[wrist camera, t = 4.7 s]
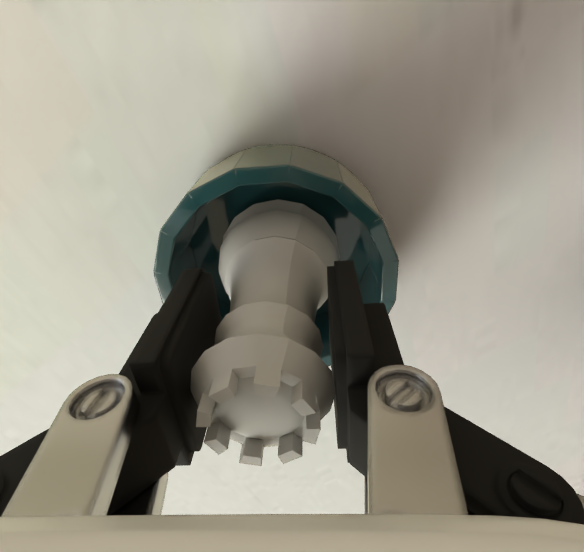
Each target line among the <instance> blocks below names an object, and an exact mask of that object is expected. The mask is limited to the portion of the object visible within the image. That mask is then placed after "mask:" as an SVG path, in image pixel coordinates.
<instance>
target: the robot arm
mask: <svg viewBox="0 0 584 552" xmlns="http://www.w3.org/2000/svg"><path fill="white" fill-rule="evenodd" d="M327 284H328V313H329V340H330V356H331V368H332V375H333V380H334V384H335V390H336V394H335V397H334V406H335V418H336V431H337V443H338V449H342V448H346V450H347V460H348V463H350V464H351V465H352V466H353V467H355V468H356V469H357V470H358V471H359V472H360V473H362V474H363V475H364V476H365V478H364V484H365V514H243V515H161V512H162V507H163V502H164V497H165V492H166V487H167V482H168V472H169V471H170V470H171V469H173V468H174V467H175V465H190V464H191V461H192V457H193V454H194V451H200V449H201V447H202V444H203V440H204V436H205V432H206V429H207V427H196V419H197V410H198V405H197V403H196V401H195V399H194V397H193V395H192V392H191V388H190V386H191V370H192V368H193V367H194V365H195V364H196V362H197V361H198V360H199V358H200V357H201V355H202V354H203V352H204V351H205V350H207V349H209V348H211V347H213V346H214V344H215V334H216V329H217V327H218V326H219V324H220V323H221V321H222V318H221V313H220V309H219V304H218V299H217V295H216V290H215V286H214V281H213V277H212V274H211V273H210V272H209V273H206V271H205V269H204V268H195V269H184V270H183V271H182V273H181V275H180V276H179V278H178V280H177V281H176V283H175V285H174V287H173V288H172V290H171V292H170V293H169V295H168V297H167V299H166V300H165V302H164V304H163V305H162V307H161V309H160V311H159V312H158V313H157V314H155V315H154V316H153V318H152V319H151V321H150V323H149V324H148V326H147V328H146V329H145V331H144V333H143V334H142V336H141V338H140V339H139V341H138V343H137V344H136V346H135V348H134V350H133V351H132V353H131V355H130V356H129V358H128V360H127V361H126V363H125V365H124V366H123V368H122V370H121V371H120V373H119V374H108V375H104V376H99V377H96V378H94V379H92V380H89V381H87V382H86V383H84V384H82V385H81V386H79V387H78V388H77V389H75V390H74V391H73V392H72V393H71V394H70V395H69V396H68V398H67V399H66V400H65V402H64V403H63V405H62V407H61V409H60V410H59V412H58V414H57V416H56V418H55V419H54V421H53V423H52V425H51V427H50V428H49V429H47V430H46V431H44V432H42V433H40V434H39V435H37V436H35V437H33V438H32V439H30V440H28V441H26V442H25V443H23V444H21V445H19V446H18V447H16V448H14V449H12V450H11V451H9V452H7V453H5V454H3V455H2V456H0V552H584V496H581V495H579V494H576V492H575V491H574V489H573V488H572V487H571V486H570V485H569V484H568V483H567V482H566V481H565V480H564V479H563V478H562V477H561V476H560V475H559V474H557V473H556V472H554V471H553V470H552V469H550V468H549V467H547V466H546V465H544V464H542V463H540V462H539V461H537V460H535V459H533V458H532V457H530V456H528V455H527V454H525V453H523V452H521V451H520V450H518V449H516V448H515V447H513V446H511V445H509V444H508V443H506V442H504V441H503V440H501V439H499V438H497V437H496V436H494V435H492V434H491V433H489V432H487V431H485V430H484V429H482V428H480V427H479V426H477V425H475V424H473V423H472V422H470V421H468V420H466V419H465V418H463V417H461V416H460V415H458V414H456V413H454V412H453V411H451V410H449V409H448V408H446V407H444V405H443V401H442V396H441V392H440V390H439V387H438V385H437V383H436V382H435V381H434V380H433V379H432V378H431V376H429V375H428V374H426V373H425V372H423V371H422V370H419V369H417V368H414V367H412V366H406V365H404V363H403V360H402V357H401V354H400V351H399V347H398V344H397V341H396V338H395V335H394V332H393V329H392V325H391V322H390V319H389V316H388V313H387V310H386V307H385V304H384V303H367V304H363V301H362V297H361V292H360V288H359V283H358V279H357V275H356V270H355V266H354V262H353V260H346V261H334V266H327Z"/></svg>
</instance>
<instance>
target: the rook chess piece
mask: <svg viewBox="0 0 584 552" xmlns="http://www.w3.org/2000/svg"><path fill="white" fill-rule="evenodd" d="M339 258H340V254H339V248H338V242H337V237H336V235H335V233H334V232H333V230H332V229H331V227H330V226H329V224H328V223H327V221H326V220H325V218H324V217H323V216H321V215H320V214H318V213H316V212H315V211H313V210H312V209H310V208H309V207H307V206H305V205H304V204H301V203H295V202H290V201H285V200H279V199H277V200H272V201H267V202H262V203H257V204H253V205H252V206H250V207H249V208H247V209H246V210H245V211H243V212H242V213H240V214H239V215H237V216H236V217H234V219H233V221H232V222H231V224H230V226H229V227H228V229H227V231H226V232H225V234H224V236H223V244H222V245H221V247H220V257H219V267H218V268H219V274H220V277H221V280H222V283H223V285H224V288H225V291H226V293H227V294H228V295H229V298H230V301H231V305H230V313H228V314H226V316H225V317H224V318H223V320H222V321H221V323H220V324H219V326H218V327H217V329H216V334H215V344H214V346H213V347H211V348H209V349H207V350H205V351H204V352H203V354H202V355H201V357H200V358H199V360H198V361H197V362H196V364H195V365H194V367H193V368H192V370H191V386H190V388H191V392H192V395H193V397H194V399H195V401H196V403H197V405H198V410H197V419H196V427H208V429H207V432H206V436H205V440H204V443H205V444H207V445H208V446H209V447H210V448H211V449H213V450H214V451H215V452H216V453H218V454H221V453H222V452H224V451H225V450H227V449H228V444H229V439H231V440H234V441H236V442H239V443H241V444H242V449H241V455H240V461H239V463H244V464H251V465H258V466H262V457H263V448H264V447H270V446H279V447H278V457H279V458H280V460H281V461H282V463H283V464H284V463H287V462H289V461H292V460H294V459H297V458H299V457H302V441H305V442H309V443H312V444H316V441H317V438H318V435H319V432H320V429H321V428H320V420H321V419H322V418H323V417H324V416H325V415H326V414H327V413H328V412H329V411H330V409H331V406H332V403H333V400H334V397H335V394H336V390H335V384H334V380H333V375H332V371H331V370H330V369H329V368H328V366H327V365H326V364H325V363H324V362H323V361H322V359H321V358H320V357H321V353H322V350H323V343H322V339H321V334H320V330H319V329H318V328H317V326H316V325H315V318H316V312H317V310H318V309H319V308H320V307H321V306H322V304H323V303H324V302H325V301H326V300H327V298H328V284H327V266H334V261H339ZM302 437H303V438H302Z"/></svg>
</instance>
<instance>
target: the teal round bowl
mask: <svg viewBox="0 0 584 552" xmlns="http://www.w3.org/2000/svg"><path fill="white" fill-rule="evenodd" d="M277 199H279V200H285V201H290V202H295V203H301V204H304V205H305V206H307V207H309V208H310V209H312V210H313V211H315V212H316V213H318V214H320V215H321V216H323V217H324V218H325V220H326V221H327V223H328V224H329V226H330V227H331V229H332V230H333V232H334V233H335V235H336V237H337V242H338V248H339V254H340V258H339V261H346V260H353V262H354V266H355V270H356V275H357V279H358V283H359V288H360V292H361V297H362V301H363V304H367V303H384V304H385V307H386V310H387V313H388V314H389V312H390V310H391V308H392V307H393V305H394V303H395V301H396V291H397V278H398V265H399V260H398V256H397V254H396V251H395V249H394V246H393V244H392V241H391V239H390V237H389V234H388V232H387V229H386V227H385V224H384V222H383V220H382V217H381V215H380V213H379V211H378V209H377V207H376V205H375V203H374V200H373V198H372V196H371V194H370V192H369V191H368V189H367V188H366V187H365V186H364V185H363V184H362V183H361V182H360V181H359V180H358V179H357V178H356V177H355V176H354V175H353V173H352V172H350V171H349V170H348V169H347V168H345V167H344V166H343V165H342V164H340V163H339V162H338V161H336V160H335V159H332V158H330V157H329V156H326V155H324V154H322V153H319V152H317V151H315V150H311V149H307V148H304V147H299V146H292V145H265V146H258V147H254V148H248V149H245V150H243V151H241V152H238V153H236V154H234V155H232V156H229V157H228V158H226V159H225V160H223V161H221V162H220V163H218V164H217V165H215V166H213V167H211V168H209V169H208V170H207V171H206V172H205V173H204V175H203V176H202V177H201V178H200V179H199V180H198V181H197V182H196V184H195V185H194V186H193V187H192V188H191V189H190V190H189V192H188V193H187V194H186V195H185V197H184V198H183V199H182V201H181V202H180V203H179V205H178V206H177V207H176V209H175V210H174V212H173V213H172V214H171V216H170V217H169V218H168V220H167V221H166V223H165V224H164V225H163V227H162V228H161V230H160V233H159V240H158V246H157V253H156V259H155V266H154V276H155V279H156V283H157V286H158V289H159V292H160V296H161V299H162V302H163V304H164V302H165V300H166V299H167V297H168V295H169V293H170V292H171V290H172V288H173V287H174V285H175V283H176V281H177V280H178V278H179V276H180V275H181V273H182V271H183V270H184V269H195V268H204V269H205V271H206V273H209V272H210V273H211V274H212V277H213V281H214V286H215V290H216V295H217V299H218V304H219V309H220V313H221V318H222V320H223V318H224V317H225V316H226V314H228V313H230V305H231V301H230V298H229V295H228V294H227V293H226V291H225V288H224V285H223V283H222V280H221V277H220V274H219V268H218V267H219V257H220V247H221V245H222V244H223V236H224V234H225V232H226V231H227V229H228V227H229V226H230V224H231V222H232V221H233V219H234V217H236V216H237V215H239V214H240V213H242V212H243V211H245V210H246V209H247V208H249V207H250V206H252V205H253V204H257V203H262V202H267V201H272V200H277ZM315 325H316V326H317V328H318V329H319V330H320V334H321V339H322V343H323V350H322V353H321V357H320V358H321V359H322V361H323V362H324V363H325V364H326V365H327V366H330V365H331V356H330V340H329V313H328V298H327V300H326V301H325V302H324V303H323V304H322V306H321V307H320V308H319V309H318V310H317V312H316V318H315Z"/></svg>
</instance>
